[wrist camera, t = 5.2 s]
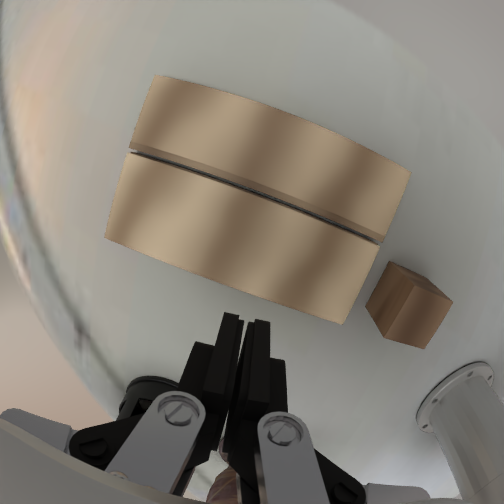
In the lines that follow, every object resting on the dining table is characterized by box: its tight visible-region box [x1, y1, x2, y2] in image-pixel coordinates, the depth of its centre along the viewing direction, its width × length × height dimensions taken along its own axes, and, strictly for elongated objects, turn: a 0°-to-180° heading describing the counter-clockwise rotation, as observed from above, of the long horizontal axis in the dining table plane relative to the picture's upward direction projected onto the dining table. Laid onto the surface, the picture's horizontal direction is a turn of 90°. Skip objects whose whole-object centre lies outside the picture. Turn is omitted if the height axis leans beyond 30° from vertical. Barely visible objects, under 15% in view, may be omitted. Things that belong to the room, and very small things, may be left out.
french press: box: [116, 376, 179, 421], centre depth 18 cm, size 12×9×23 cm
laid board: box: [129, 75, 412, 242], centre depth 19 cm, size 20×6×2 cm, turn 70°
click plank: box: [104, 152, 380, 325], centre depth 21 cm, size 20×7×2 cm, turn 70°
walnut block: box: [365, 261, 453, 349], centre depth 21 cm, size 4×4×5 cm
